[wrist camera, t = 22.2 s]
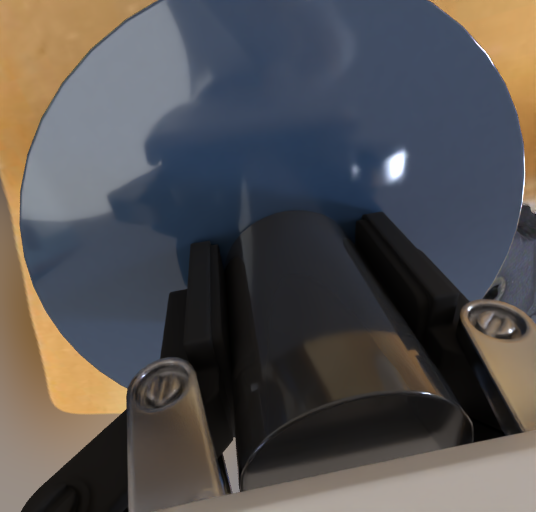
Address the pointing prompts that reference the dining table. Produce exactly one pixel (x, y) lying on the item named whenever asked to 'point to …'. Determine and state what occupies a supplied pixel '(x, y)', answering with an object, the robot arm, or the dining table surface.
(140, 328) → the lid
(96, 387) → the dining table surface
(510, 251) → the dark slate chunk
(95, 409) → the dining table surface
